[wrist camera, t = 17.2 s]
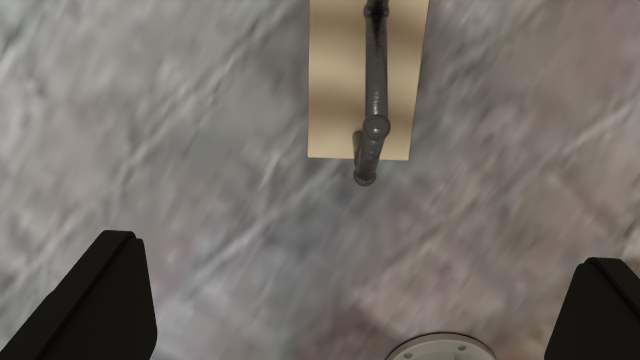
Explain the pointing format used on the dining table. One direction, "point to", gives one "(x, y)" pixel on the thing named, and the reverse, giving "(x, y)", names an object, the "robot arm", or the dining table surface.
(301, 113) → the dining table surface
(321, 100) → the wire board
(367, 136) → the bent wire
